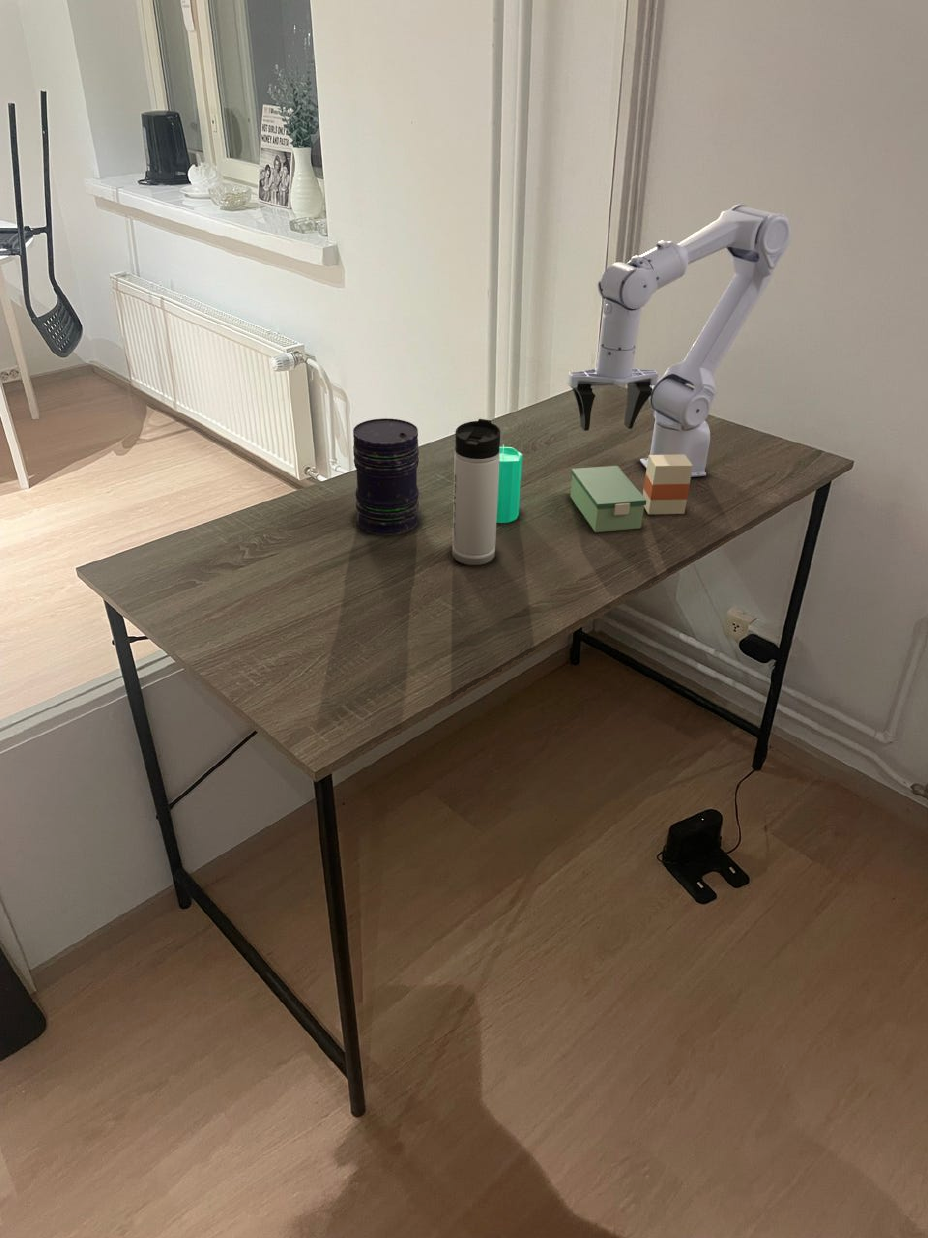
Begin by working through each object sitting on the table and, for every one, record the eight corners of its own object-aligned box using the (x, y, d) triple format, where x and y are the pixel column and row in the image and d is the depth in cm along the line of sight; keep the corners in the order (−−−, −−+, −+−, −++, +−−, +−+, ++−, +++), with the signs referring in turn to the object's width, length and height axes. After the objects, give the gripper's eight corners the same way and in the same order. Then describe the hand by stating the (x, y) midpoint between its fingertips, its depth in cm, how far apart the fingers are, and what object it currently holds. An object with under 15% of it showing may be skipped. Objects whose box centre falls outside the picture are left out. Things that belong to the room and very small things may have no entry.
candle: (492, 526, 142) (496, 454, 136) (474, 510, 147) (477, 440, 140) (525, 518, 145) (530, 448, 138) (506, 503, 149) (510, 434, 142)
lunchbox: (613, 492, 154) (616, 464, 151) (643, 529, 143) (647, 501, 140) (568, 495, 152) (570, 468, 149) (594, 533, 141) (598, 504, 138)
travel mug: (500, 548, 137) (507, 421, 125) (487, 569, 131) (493, 439, 120) (461, 540, 138) (464, 415, 127) (446, 561, 133) (448, 432, 122)
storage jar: (344, 526, 141) (339, 435, 133) (376, 501, 149) (373, 413, 140) (400, 540, 138) (399, 448, 129) (430, 514, 145) (430, 425, 137)
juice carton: (641, 502, 151) (648, 454, 146) (676, 501, 151) (684, 454, 147) (648, 514, 147) (655, 466, 142) (684, 514, 148) (693, 465, 143)
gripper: (581, 354, 138) (572, 438, 145) (670, 351, 141) (656, 434, 148) (567, 340, 144) (559, 422, 151) (653, 338, 147) (640, 418, 154)
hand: (606, 427), depth 150 cm, fingers open, 7 cm apart
